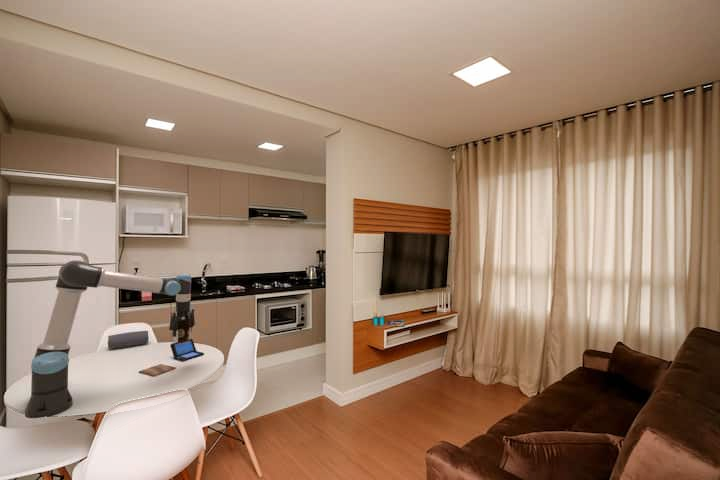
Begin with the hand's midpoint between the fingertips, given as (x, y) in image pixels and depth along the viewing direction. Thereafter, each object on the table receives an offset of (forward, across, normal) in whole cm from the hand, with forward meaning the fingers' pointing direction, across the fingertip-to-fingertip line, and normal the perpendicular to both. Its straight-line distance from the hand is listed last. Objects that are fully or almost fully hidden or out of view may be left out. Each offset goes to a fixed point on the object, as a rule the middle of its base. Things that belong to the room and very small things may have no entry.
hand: (182, 340), depth 193 cm
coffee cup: (+1, 0, 0) cm, 1 cm away
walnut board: (+17, -8, +9) cm, 20 cm away
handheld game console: (+17, +16, +15) cm, 28 cm away
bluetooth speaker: (+17, +12, +69) cm, 73 cm away
